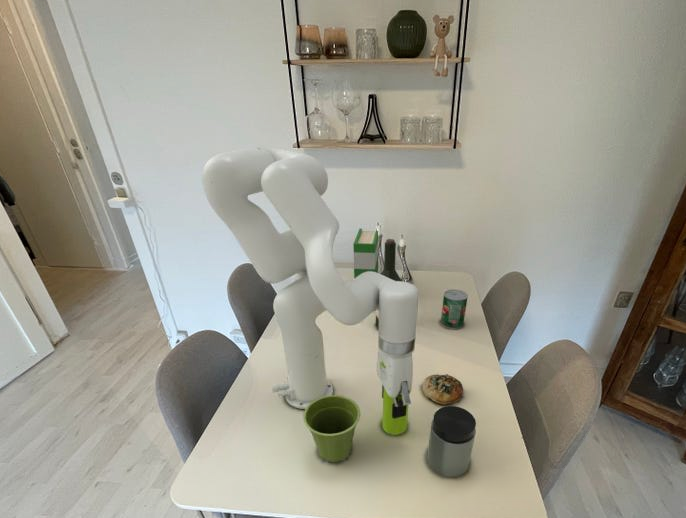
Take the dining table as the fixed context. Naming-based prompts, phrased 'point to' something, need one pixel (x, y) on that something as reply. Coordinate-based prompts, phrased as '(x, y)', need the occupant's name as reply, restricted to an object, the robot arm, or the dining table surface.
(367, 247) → the hardback book
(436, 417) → the grey and black cylinder
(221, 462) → the dining table surface
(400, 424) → the soap dispenser
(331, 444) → the plant pot
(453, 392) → the bread roll
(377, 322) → the wine bottle
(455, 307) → the canned tomato
